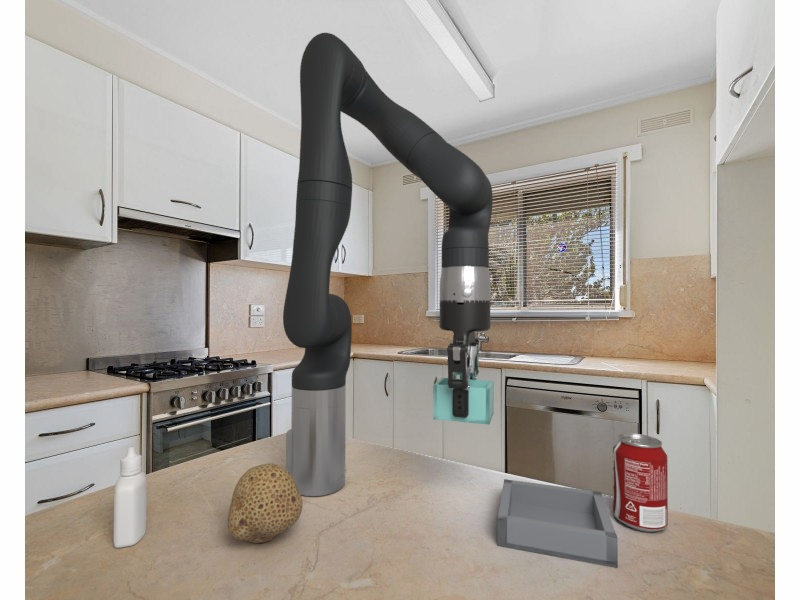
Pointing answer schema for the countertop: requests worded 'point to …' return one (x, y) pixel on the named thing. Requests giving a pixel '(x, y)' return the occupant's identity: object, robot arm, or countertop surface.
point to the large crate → (557, 522)
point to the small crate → (478, 402)
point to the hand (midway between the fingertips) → (464, 410)
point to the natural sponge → (264, 504)
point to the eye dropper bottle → (130, 501)
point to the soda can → (640, 482)
